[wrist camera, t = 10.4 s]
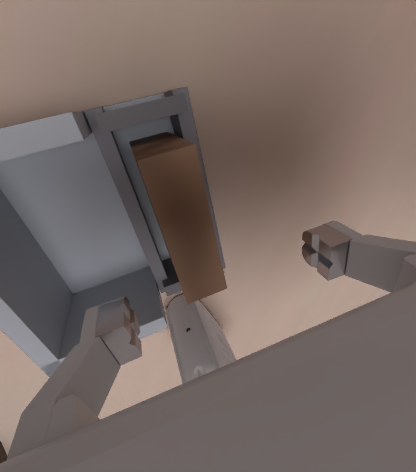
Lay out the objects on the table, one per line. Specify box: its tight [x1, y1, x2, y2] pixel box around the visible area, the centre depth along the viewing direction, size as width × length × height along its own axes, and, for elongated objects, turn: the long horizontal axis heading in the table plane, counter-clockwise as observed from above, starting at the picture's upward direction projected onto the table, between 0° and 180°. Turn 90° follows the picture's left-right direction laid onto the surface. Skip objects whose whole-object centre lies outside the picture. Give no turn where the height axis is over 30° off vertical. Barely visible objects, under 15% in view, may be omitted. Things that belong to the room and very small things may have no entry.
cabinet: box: [0, 87, 225, 377], centre depth 18 cm, size 15×15×8 cm
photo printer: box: [166, 294, 236, 384], centre depth 25 cm, size 10×4×12 cm, turn 27°
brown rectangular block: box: [129, 132, 227, 304], centre depth 18 cm, size 3×10×8 cm, turn 12°
